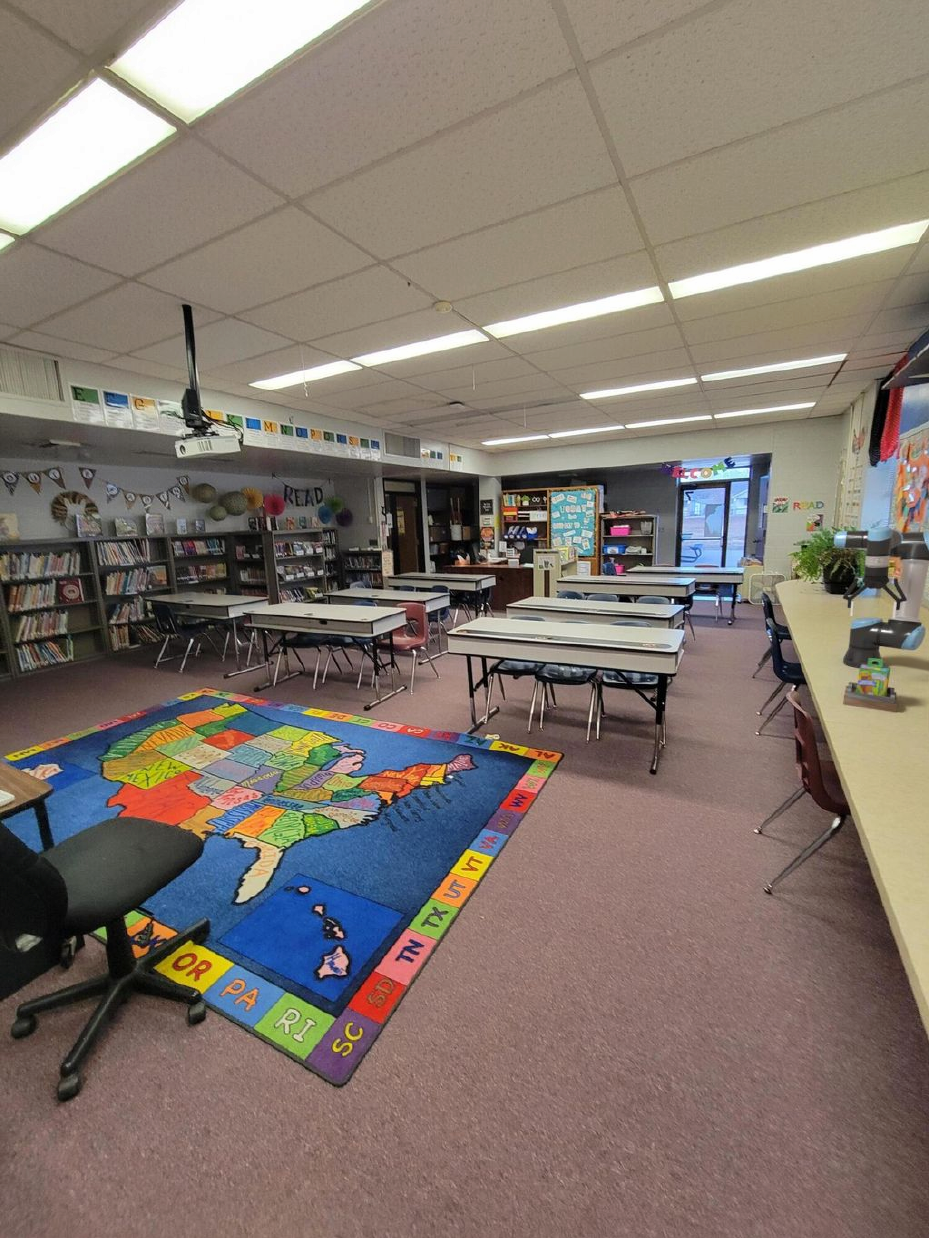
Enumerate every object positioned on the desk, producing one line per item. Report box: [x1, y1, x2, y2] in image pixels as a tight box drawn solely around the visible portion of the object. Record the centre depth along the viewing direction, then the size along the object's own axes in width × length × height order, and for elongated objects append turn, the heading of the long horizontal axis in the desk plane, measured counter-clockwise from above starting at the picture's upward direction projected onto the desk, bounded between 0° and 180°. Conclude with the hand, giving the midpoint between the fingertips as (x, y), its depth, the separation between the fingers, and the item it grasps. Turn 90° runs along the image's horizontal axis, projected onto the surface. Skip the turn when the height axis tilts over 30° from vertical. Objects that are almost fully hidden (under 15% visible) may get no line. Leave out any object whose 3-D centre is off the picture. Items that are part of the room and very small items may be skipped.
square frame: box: [842, 681, 898, 713], centre depth 196 cm, size 16×16×5 cm
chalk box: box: [856, 658, 891, 697], centre depth 195 cm, size 9×9×15 cm
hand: (872, 616), depth 204 cm, fingers open, 13 cm apart
